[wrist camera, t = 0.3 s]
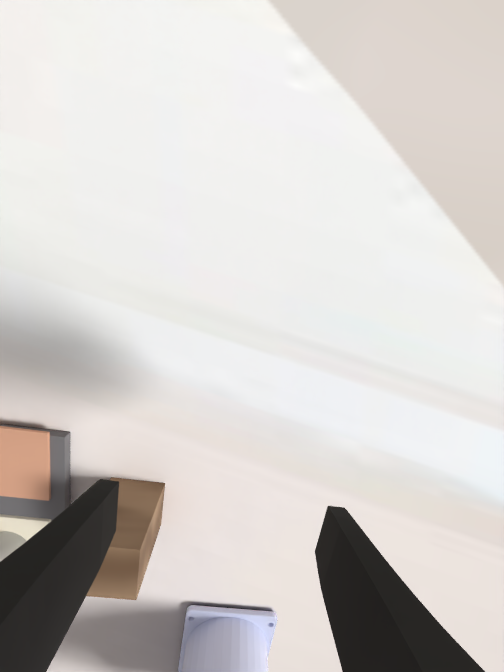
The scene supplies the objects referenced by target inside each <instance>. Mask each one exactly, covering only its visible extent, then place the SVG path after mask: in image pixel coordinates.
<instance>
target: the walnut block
mask: <svg viewBox="0 0 504 672" xmlns="http://www.w3.org/2000/svg"><path fill="white" fill-rule="evenodd" d="M110 480H112V481H119V493H118V508H117V523H116V532H115V534H114V537H113V539H112V541H111V544H110V546H109V549H108V551H107V554H106V556H105V558H104V561H103V563H102V565H101V568H100V570H99V572H98V574H97V576H96V578H95V580H94V581H93V583H92V585H91V587H90V589H89V591H88V593H87V595H86V596H92V597H105V598H117V599H130V600H136V599H137V596H138V593H139V590H140V587H141V584H142V581H143V578H144V575H145V572H146V569H147V566H148V562H149V559H150V556H151V553H152V550H153V547H154V544H155V541H156V538H157V535H158V532H159V529H160V526H161V518H162V508H163V499H164V489H165V483H158V482H149V481H140V480H131V479H122V478H111V479H110Z"/></svg>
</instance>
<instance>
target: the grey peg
mask: <svg viewBox="0 0 504 672" xmlns="http://www.w3.org/2000/svg"><path fill="white" fill-rule="evenodd" d="M25 542H26V540H25V539H24V538H23V537H22V536H20V535H18V534H16V533H13V532H8V531H3V532H0V561H2V560H3V559H4V558H6V557H7V556H8V555H10V554H11V553H12V552H13V551H15V550H16V549H17V548H19V547H20V546H21V545H22V544H24V543H25Z"/></svg>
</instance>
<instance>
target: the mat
mask: <svg viewBox="0 0 504 672" xmlns="http://www.w3.org/2000/svg"><path fill="white" fill-rule="evenodd" d="M68 506H70V432H64V431H55V430H47V429H39V428H30V427H22V426H14V425H5V424H0V532H3V531H8V532H13V533H16V534H18V535H20V536H22V537H23V538H24V539H25V540H26V541H27V540H29V539H30V538H31V537H32V536H34V535H35V534H36V533H37V532H38V531H40V530H41V529H42V528H43V527H45V526H46V525H47V524H48V523H49V522H51V521H52V520H53V519H54V518H55V517H57V516H58V515H59V514H60V513H61V512H63V511H64V510H65V509H66V508H67V507H68Z"/></svg>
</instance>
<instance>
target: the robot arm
mask: <svg viewBox="0 0 504 672" xmlns="http://www.w3.org/2000/svg"><path fill="white" fill-rule="evenodd" d="M118 493H119V481H112V480H103V479H100V480H99V481H97V482H96V483H95V484H94V485H93V486H92V487H90V488H89V489H88V490H87V491H86V492H85V493H83V494H82V495H81V496H80V497H79V498H78V499H77V500H75V501H74V502H73V503H72V504H71V505H70V506H68V507H67V508H66V509H65V510H64V511H63V512H61V513H60V514H59V515H58V516H57V517H55V518H54V519H53V520H52V521H51V522H49V523H48V524H47V525H46V526H45V527H43V528H42V529H41V530H40V531H38V532H37V533H36V534H35V535H34V536H32V537H31V538H30V539H29V540H27V541H26V542H25V543H24V544H22V545H21V546H20V547H19V548H17V549H16V550H15V551H13V552H12V553H11V554H10V555H8V556H7V557H6V558H4V559H3V560H2V561H0V672H46V671H47V669H48V667H49V665H50V663H51V661H52V660H53V658H54V656H55V654H56V652H57V650H58V648H59V646H60V644H61V642H62V641H63V639H64V637H65V635H66V633H67V631H68V629H69V627H70V625H71V623H72V622H73V620H74V618H75V616H76V614H77V612H78V610H79V608H80V606H81V604H82V603H83V601H84V599H85V597H86V595H87V593H88V591H89V589H90V587H91V585H92V583H93V581H94V580H95V578H96V576H97V574H98V572H99V570H100V568H101V565H102V563H103V561H104V558H105V556H106V554H107V551H108V549H109V546H110V544H111V541H112V539H113V537H114V534H115V532H116V523H117V508H118ZM315 555H316V561H317V568H318V574H319V579H320V585H321V590H322V594H323V598H324V602H325V606H326V610H327V614H328V618H329V622H330V625H331V629H332V633H333V637H334V640H335V644H336V648H337V652H338V656H339V659H340V663H341V667H342V671H343V672H485V671H484V670H483V669H482V668H481V667H480V666H479V665H478V664H477V663H476V662H475V661H474V660H473V659H472V658H471V657H470V656H469V655H468V653H467V652H466V651H465V650H464V649H463V648H462V647H461V646H460V645H459V644H458V643H457V642H456V641H455V640H454V639H453V638H452V637H451V636H450V634H449V633H448V632H447V631H446V630H445V629H444V628H443V627H442V626H441V625H440V624H439V622H438V621H437V620H436V619H435V618H434V617H433V616H432V614H431V613H430V612H429V611H428V610H427V609H426V608H425V606H424V605H423V604H422V603H421V602H420V601H419V600H418V598H417V597H416V596H415V595H414V594H413V593H412V591H411V590H410V589H409V588H408V587H407V585H406V584H405V583H404V582H403V581H402V580H401V578H400V577H399V576H398V575H397V573H396V572H395V571H394V570H393V569H392V567H391V566H390V565H389V564H388V562H387V561H386V560H385V559H384V557H383V556H382V555H381V554H380V552H379V551H378V550H377V548H376V547H375V546H374V545H373V543H372V542H371V541H370V540H369V538H368V537H367V536H366V534H365V533H364V532H363V531H362V529H361V528H360V527H359V525H358V524H357V523H356V521H355V520H354V519H353V518H352V516H351V515H350V514H349V513H348V511H347V510H346V509H345V508H342V507H333V506H328V508H327V511H326V515H325V518H324V522H323V525H322V529H321V532H320V536H319V539H318V543H317V546H316V550H315ZM276 624H277V614H276V613H275V612H272V611H260V610H247V609H234V608H221V607H209V606H196V605H191V606H189V607H188V608H187V611H186V617H185V624H184V631H183V638H182V645H181V652H180V659H179V666H178V672H268V655H269V651H270V647H271V643H272V639H273V635H274V631H275V627H276Z"/></svg>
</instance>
